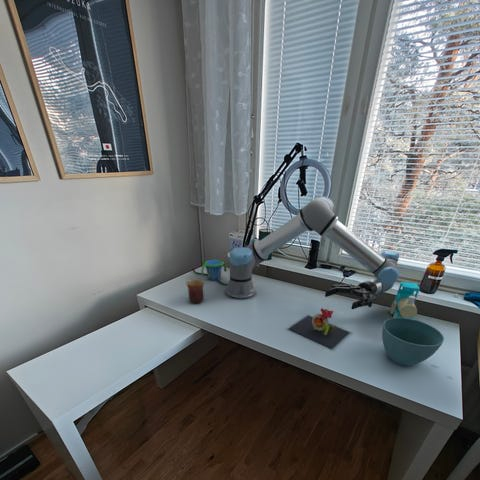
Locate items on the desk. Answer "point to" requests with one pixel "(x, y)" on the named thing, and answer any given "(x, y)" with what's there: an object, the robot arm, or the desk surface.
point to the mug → (195, 290)
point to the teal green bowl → (410, 340)
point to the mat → (319, 333)
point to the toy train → (405, 301)
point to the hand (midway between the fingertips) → (338, 299)
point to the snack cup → (214, 269)
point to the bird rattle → (322, 321)
